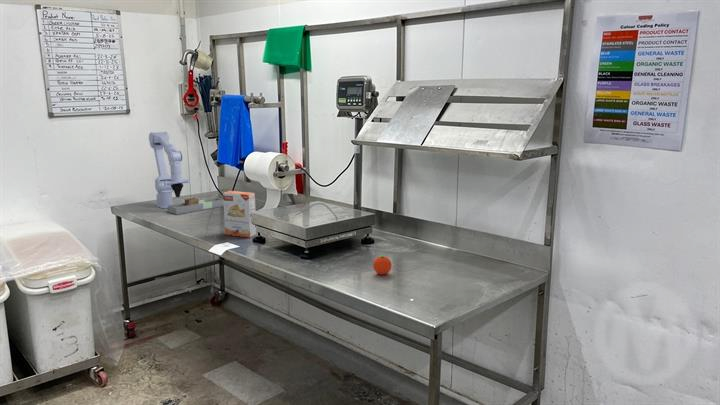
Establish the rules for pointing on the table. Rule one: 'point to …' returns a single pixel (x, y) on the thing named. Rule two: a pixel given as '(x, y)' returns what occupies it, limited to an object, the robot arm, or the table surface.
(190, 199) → the walnut block
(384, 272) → the clementine
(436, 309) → the table surface
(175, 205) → the trap channel
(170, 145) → the robot arm
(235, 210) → the cracker box
